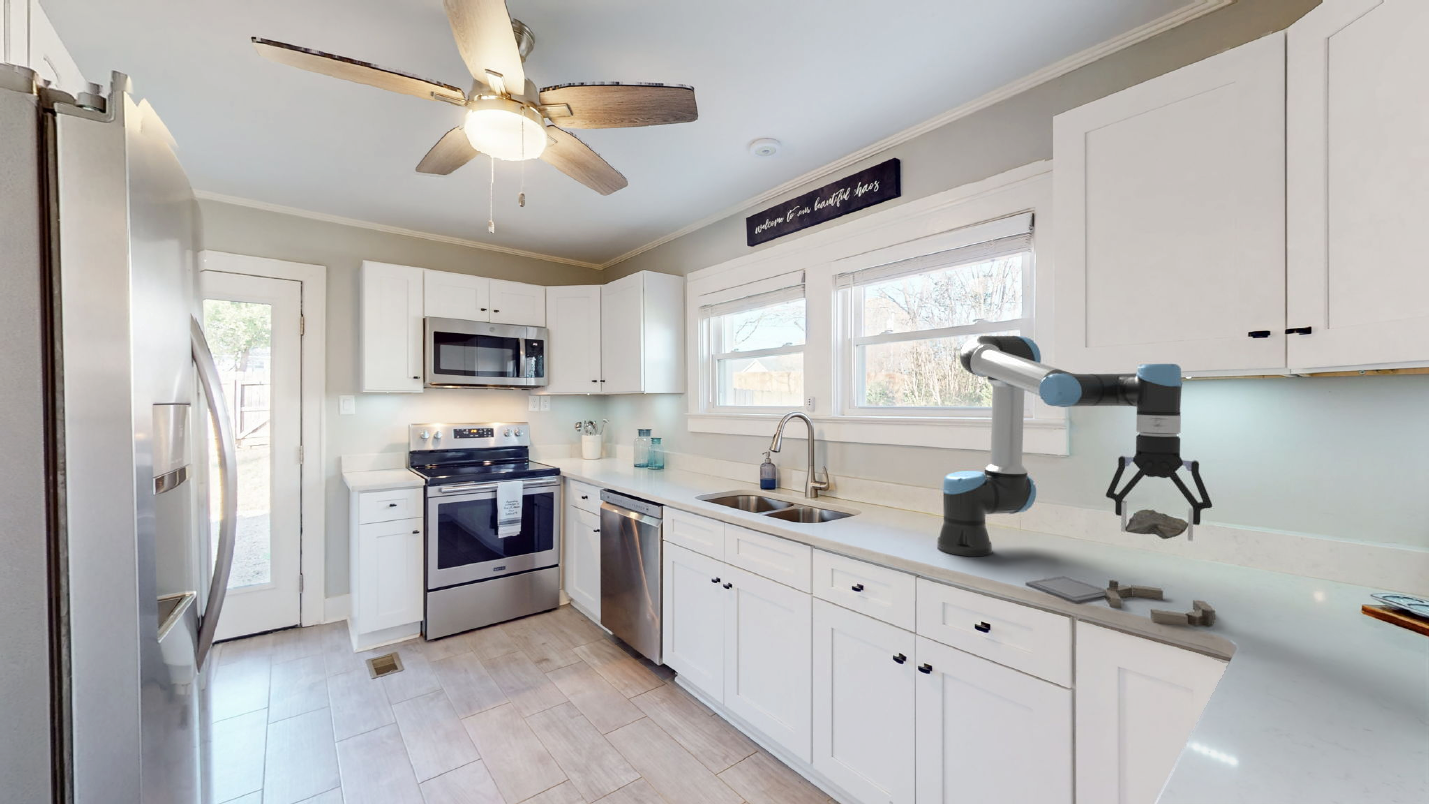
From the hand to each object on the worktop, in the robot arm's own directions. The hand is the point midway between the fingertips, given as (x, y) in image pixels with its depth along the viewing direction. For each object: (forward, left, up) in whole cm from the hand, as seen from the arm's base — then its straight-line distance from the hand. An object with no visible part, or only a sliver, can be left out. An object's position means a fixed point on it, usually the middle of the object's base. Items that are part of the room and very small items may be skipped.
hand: (1155, 534), depth 121 cm
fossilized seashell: (0, +1, -1) cm, 1 cm away
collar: (0, 0, -16) cm, 16 cm away
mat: (-15, -7, -16) cm, 23 cm away
